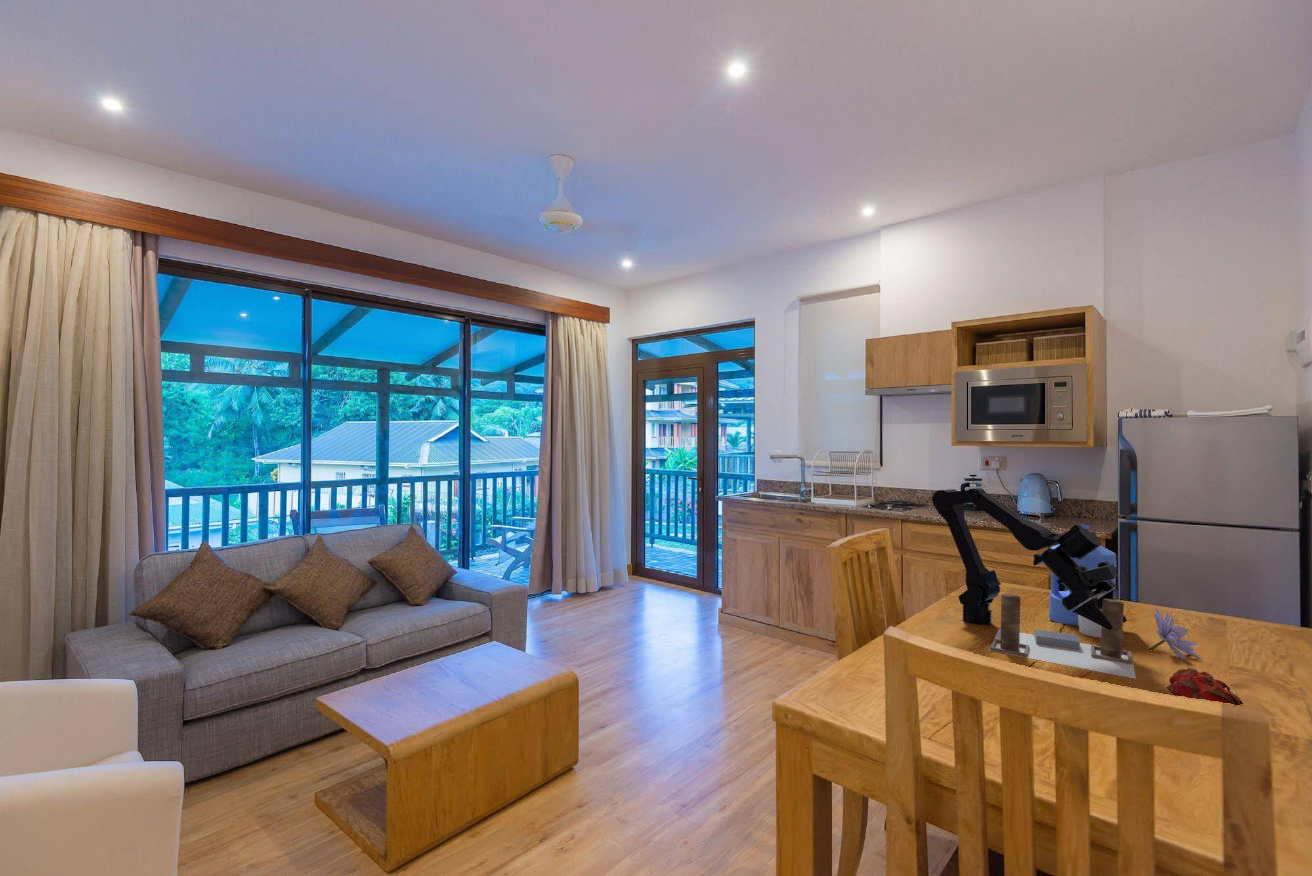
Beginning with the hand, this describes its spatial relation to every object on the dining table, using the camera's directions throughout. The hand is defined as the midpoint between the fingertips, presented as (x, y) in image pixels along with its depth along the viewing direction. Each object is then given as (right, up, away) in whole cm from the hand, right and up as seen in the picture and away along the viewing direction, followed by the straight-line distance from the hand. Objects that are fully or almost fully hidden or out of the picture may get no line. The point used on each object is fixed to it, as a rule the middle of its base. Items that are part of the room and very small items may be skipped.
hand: (1118, 625), depth 143 cm
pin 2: (-1, -8, +1) cm, 8 cm away
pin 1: (-23, -7, +5) cm, 24 cm away
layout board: (-11, -9, +4) cm, 15 cm away
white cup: (+7, -9, +18) cm, 21 cm away
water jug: (+12, -9, +30) cm, 34 cm away
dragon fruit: (-2, -9, -25) cm, 27 cm away
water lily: (+17, -9, +4) cm, 20 cm away
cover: (-8, -7, +10) cm, 15 cm away
